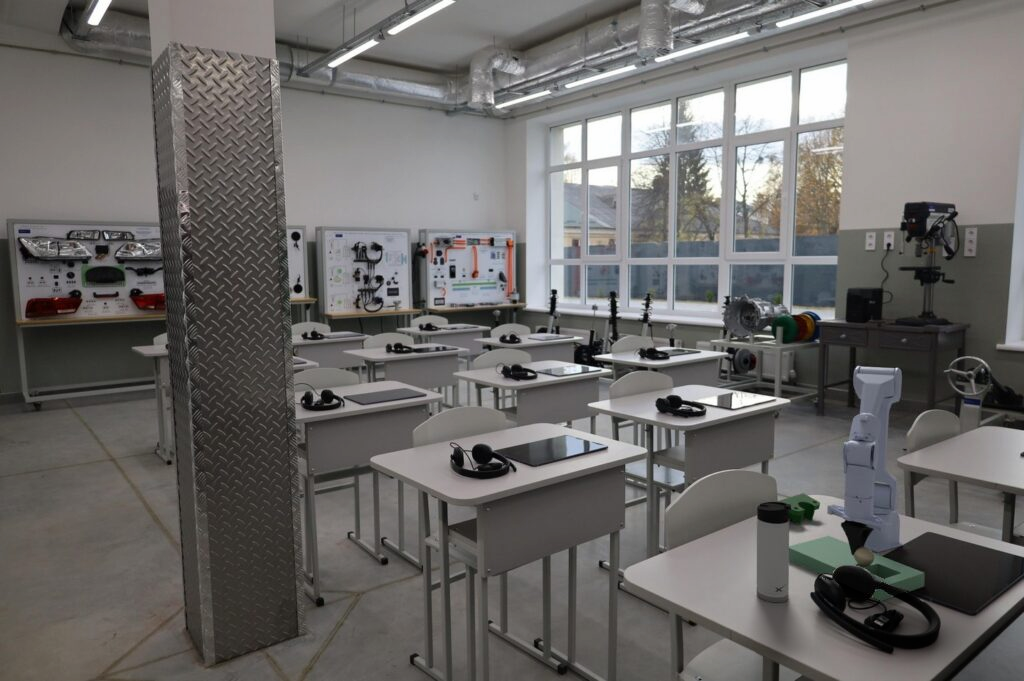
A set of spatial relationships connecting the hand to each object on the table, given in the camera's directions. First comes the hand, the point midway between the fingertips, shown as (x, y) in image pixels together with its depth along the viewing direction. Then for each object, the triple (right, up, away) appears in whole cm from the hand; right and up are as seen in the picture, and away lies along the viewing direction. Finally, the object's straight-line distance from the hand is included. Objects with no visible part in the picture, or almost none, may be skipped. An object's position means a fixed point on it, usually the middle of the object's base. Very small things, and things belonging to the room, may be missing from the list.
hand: (856, 554), depth 150 cm
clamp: (+2, -2, +35) cm, 35 cm away
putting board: (0, -5, +2) cm, 5 cm away
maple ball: (+1, 0, -1) cm, 2 cm away
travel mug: (-22, -6, -8) cm, 24 cm away
